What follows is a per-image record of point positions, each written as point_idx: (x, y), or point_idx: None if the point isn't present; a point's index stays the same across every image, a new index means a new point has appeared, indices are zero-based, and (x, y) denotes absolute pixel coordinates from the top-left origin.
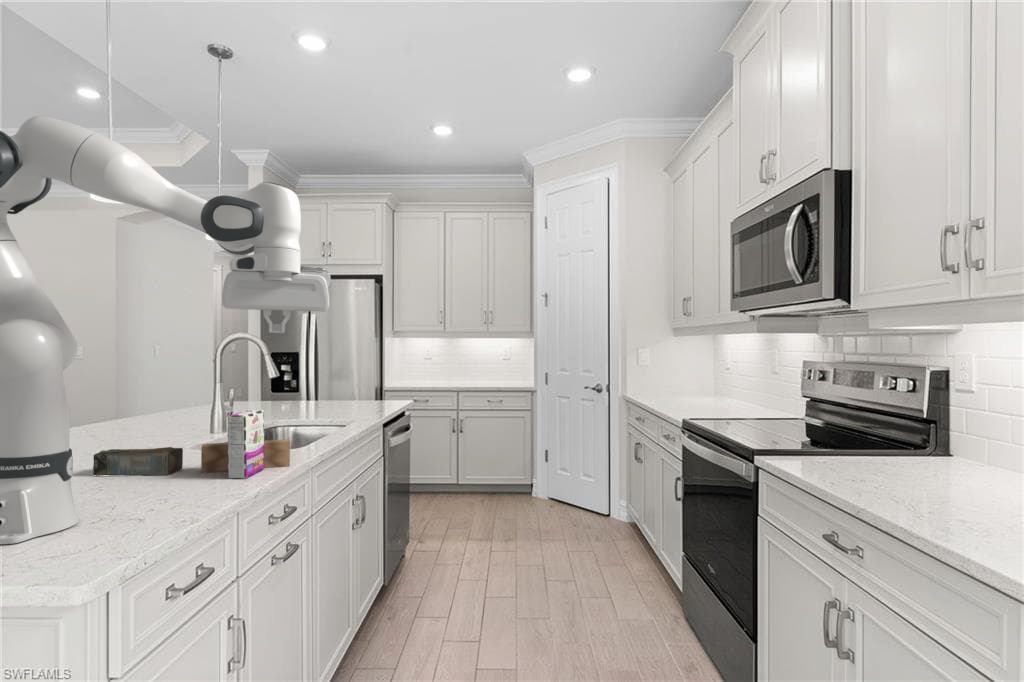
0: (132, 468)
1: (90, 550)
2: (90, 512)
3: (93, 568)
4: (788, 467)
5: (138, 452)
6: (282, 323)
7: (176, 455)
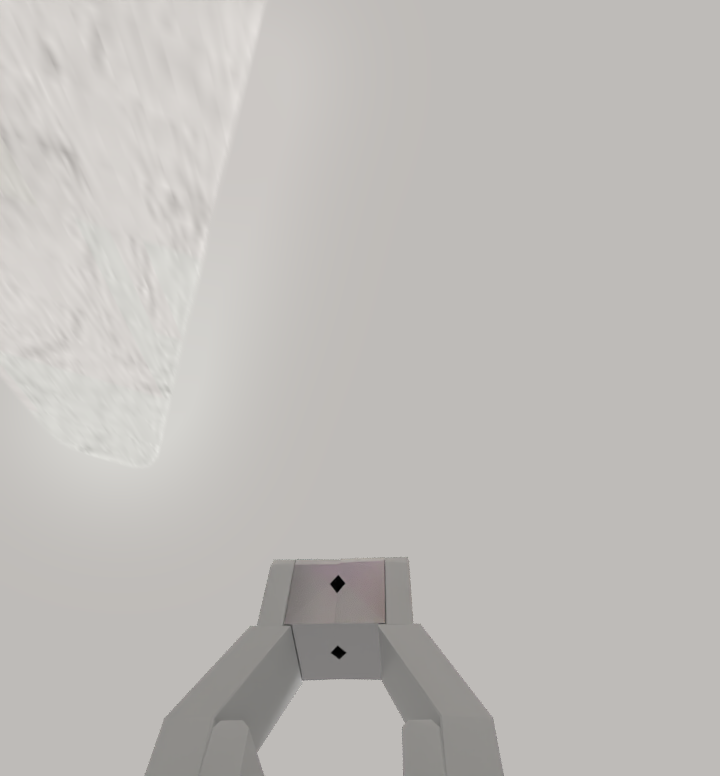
0: None
1: (80, 339)
2: None
3: (130, 417)
4: None
5: None
6: (392, 686)
7: None
